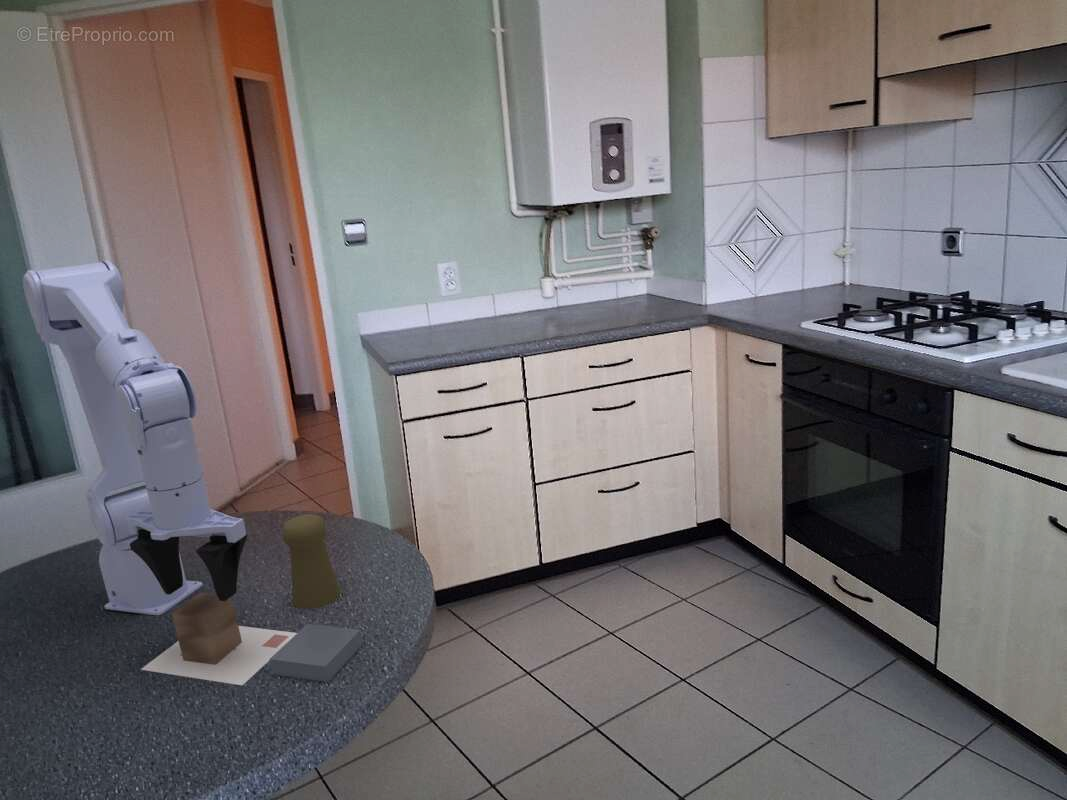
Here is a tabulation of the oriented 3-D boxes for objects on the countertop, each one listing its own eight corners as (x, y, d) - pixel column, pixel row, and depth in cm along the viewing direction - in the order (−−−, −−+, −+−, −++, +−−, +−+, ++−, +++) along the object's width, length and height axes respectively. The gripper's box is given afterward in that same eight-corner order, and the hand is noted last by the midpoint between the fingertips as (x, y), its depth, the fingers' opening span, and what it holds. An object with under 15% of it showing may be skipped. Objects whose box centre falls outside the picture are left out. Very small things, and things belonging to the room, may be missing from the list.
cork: (328, 610, 98) (313, 529, 95) (283, 610, 99) (267, 529, 96) (348, 586, 103) (334, 508, 101) (306, 585, 105) (291, 508, 102)
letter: (141, 670, 89) (140, 669, 89) (204, 622, 98) (203, 621, 98) (242, 686, 84) (242, 685, 84) (299, 634, 93) (298, 633, 93)
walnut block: (183, 660, 90) (171, 613, 88) (210, 638, 94) (200, 592, 92) (215, 664, 88) (204, 617, 87) (242, 642, 92) (231, 595, 91)
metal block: (273, 679, 86) (269, 659, 85) (311, 643, 92) (307, 623, 91) (329, 687, 83) (325, 666, 83) (363, 649, 90) (360, 629, 89)
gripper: (93, 492, 85) (123, 605, 88) (202, 499, 80) (228, 619, 83) (144, 467, 91) (170, 574, 95) (248, 473, 86) (271, 585, 90)
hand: (200, 593), depth 89 cm, fingers open, 7 cm apart
